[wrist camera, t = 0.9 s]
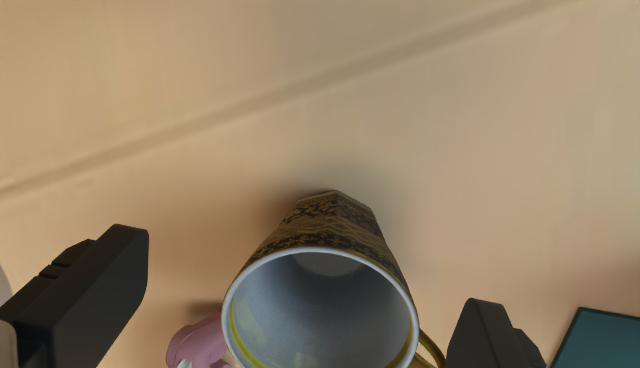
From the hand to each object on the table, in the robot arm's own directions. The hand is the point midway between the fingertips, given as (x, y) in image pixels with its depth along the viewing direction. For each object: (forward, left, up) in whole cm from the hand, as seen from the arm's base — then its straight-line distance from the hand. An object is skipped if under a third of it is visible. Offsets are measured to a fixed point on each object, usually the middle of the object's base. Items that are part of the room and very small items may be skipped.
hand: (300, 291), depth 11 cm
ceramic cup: (+9, +2, -19) cm, 21 cm away
